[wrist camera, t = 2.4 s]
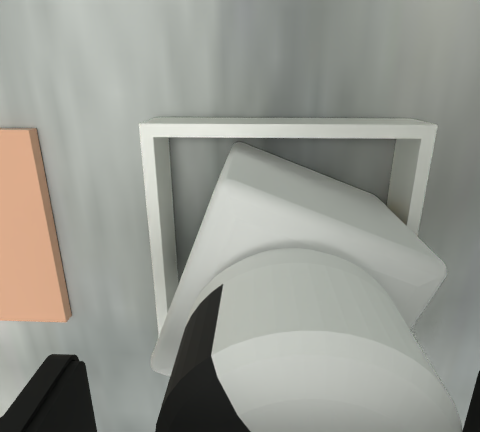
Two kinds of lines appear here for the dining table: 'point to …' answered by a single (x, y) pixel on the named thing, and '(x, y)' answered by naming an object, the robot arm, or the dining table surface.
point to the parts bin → (161, 128)
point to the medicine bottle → (300, 311)
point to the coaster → (28, 235)
